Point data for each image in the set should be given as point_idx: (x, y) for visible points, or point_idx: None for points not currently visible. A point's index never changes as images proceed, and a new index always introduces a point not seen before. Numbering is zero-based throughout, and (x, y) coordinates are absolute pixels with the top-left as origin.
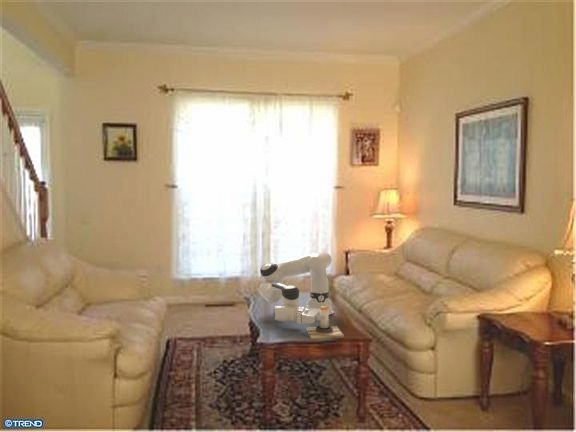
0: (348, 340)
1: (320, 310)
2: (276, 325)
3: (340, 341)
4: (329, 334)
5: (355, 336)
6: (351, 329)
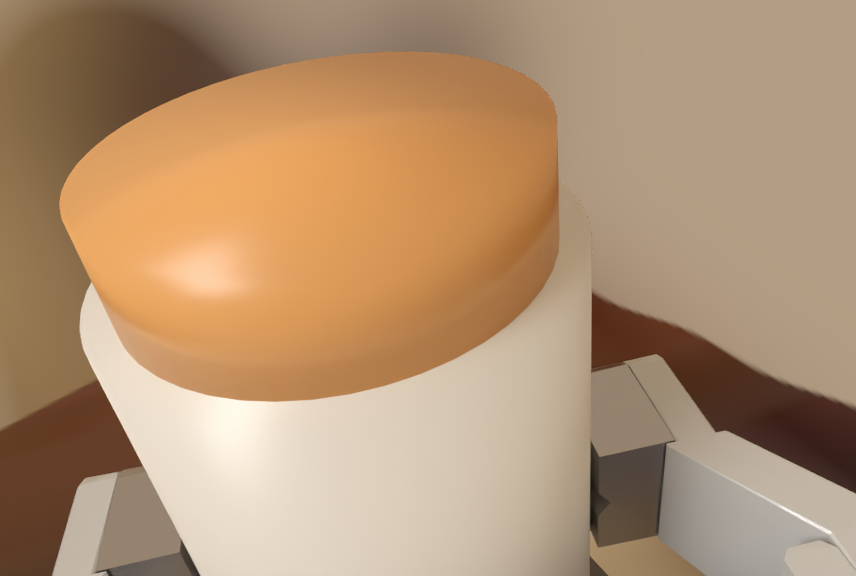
0: (606, 314)
1: (569, 342)
2: None
3: (727, 362)
4: (633, 548)
5: None
6: (27, 455)
